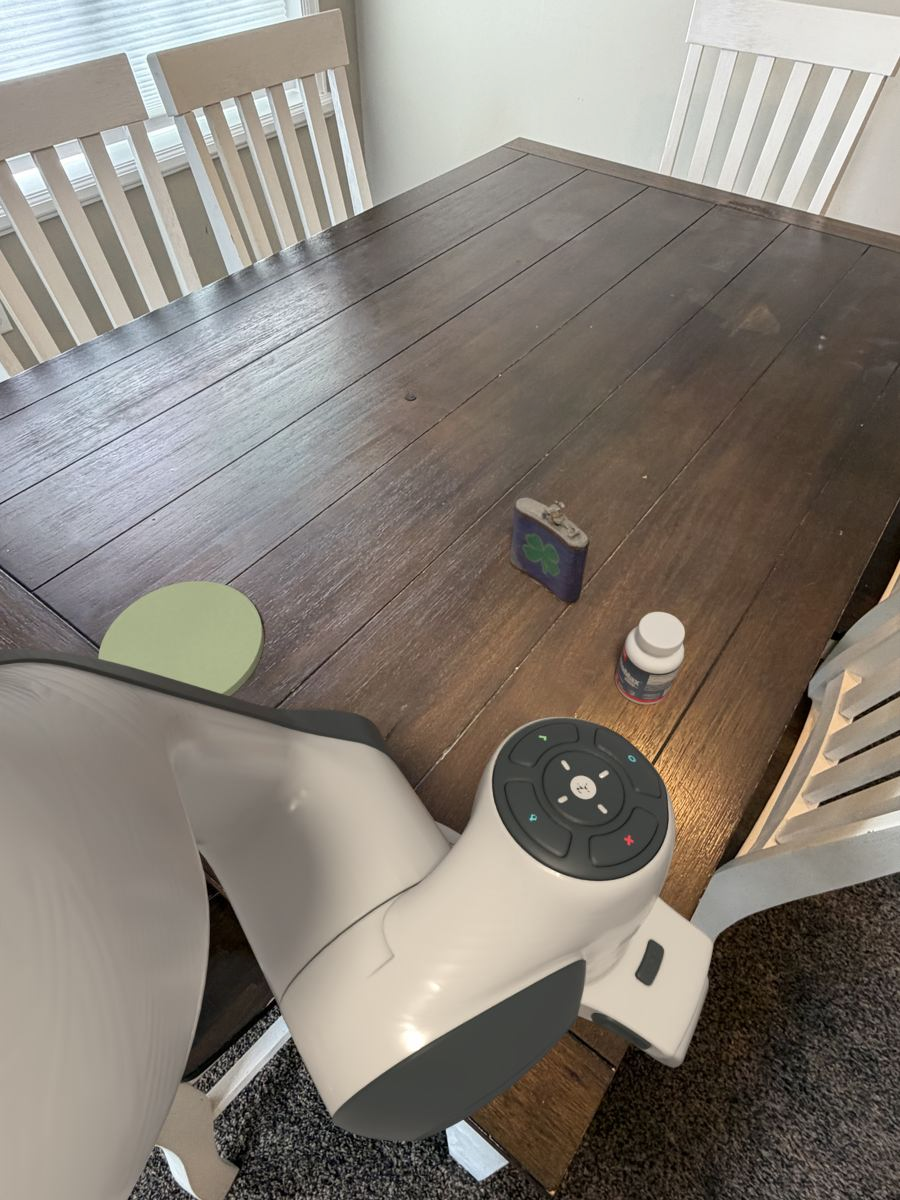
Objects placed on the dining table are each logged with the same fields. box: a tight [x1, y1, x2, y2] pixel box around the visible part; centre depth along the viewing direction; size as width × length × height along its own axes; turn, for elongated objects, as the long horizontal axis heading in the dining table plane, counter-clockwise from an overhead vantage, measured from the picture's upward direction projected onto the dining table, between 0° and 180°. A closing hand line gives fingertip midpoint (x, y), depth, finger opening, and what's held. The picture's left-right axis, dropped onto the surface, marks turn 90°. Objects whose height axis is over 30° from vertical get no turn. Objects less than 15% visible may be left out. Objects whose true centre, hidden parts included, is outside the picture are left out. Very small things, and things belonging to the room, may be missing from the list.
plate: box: [97, 580, 265, 697], centre depth 73 cm, size 16×16×1 cm
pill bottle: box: [614, 611, 686, 706], centre depth 67 cm, size 5×5×9 cm
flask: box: [509, 496, 590, 606], centre depth 75 cm, size 9×3×11 cm, turn 44°
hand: (528, 964), depth 51 cm, fingers closed on sponge, 5 cm apart
